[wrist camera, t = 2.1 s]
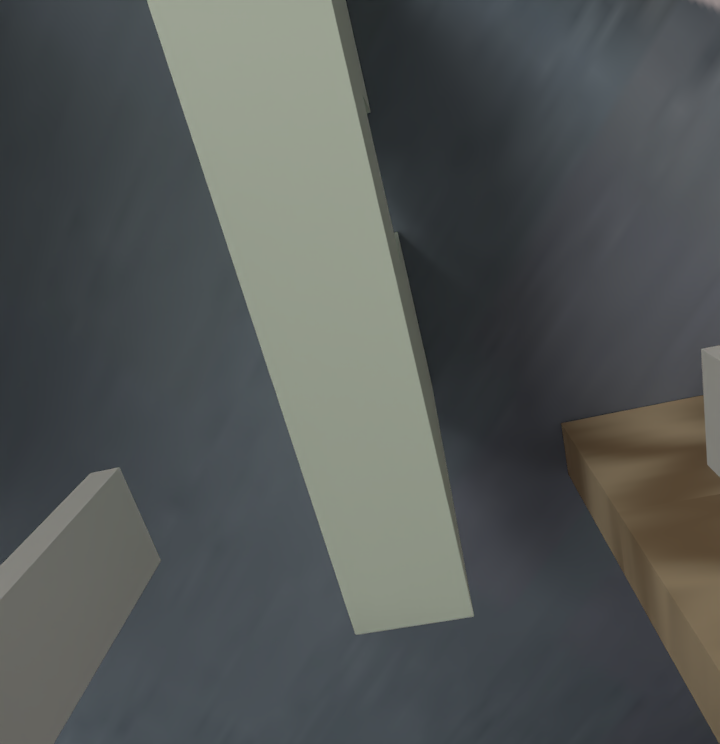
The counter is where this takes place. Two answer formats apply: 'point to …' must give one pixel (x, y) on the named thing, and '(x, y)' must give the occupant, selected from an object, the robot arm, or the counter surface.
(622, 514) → the oak slotted board
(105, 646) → the robot arm
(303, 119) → the sage slotted plate
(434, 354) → the counter surface
